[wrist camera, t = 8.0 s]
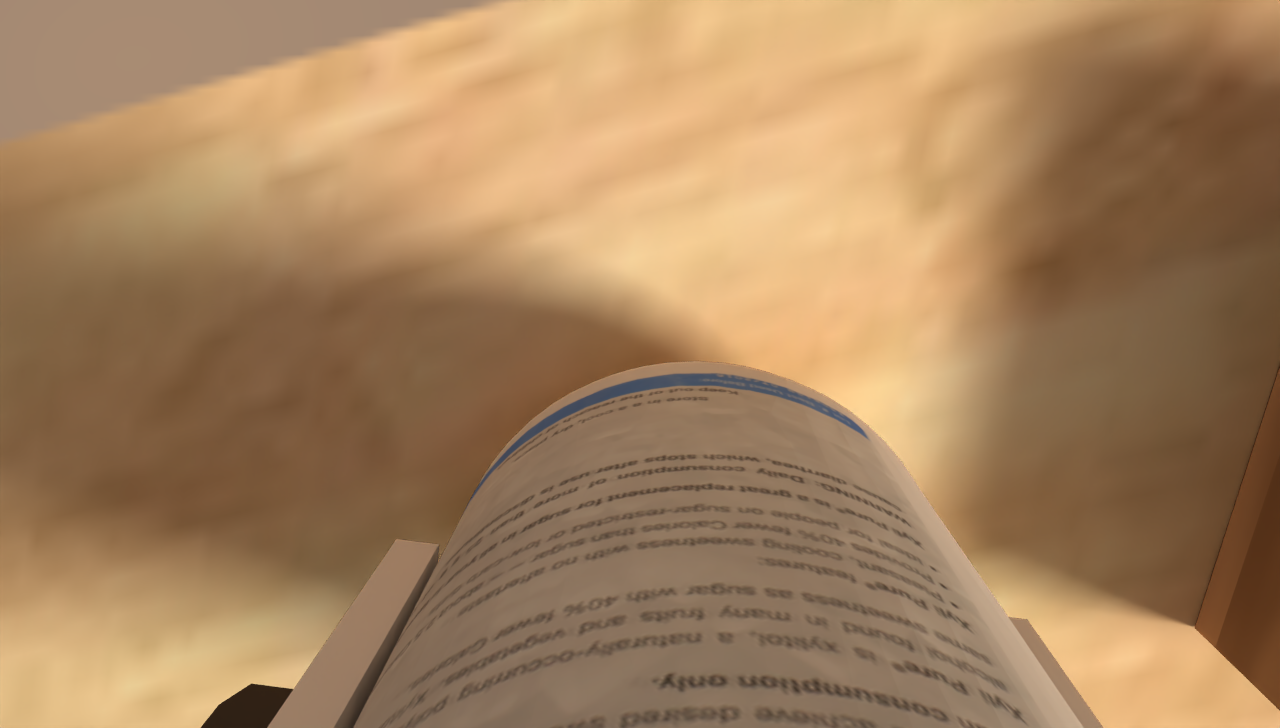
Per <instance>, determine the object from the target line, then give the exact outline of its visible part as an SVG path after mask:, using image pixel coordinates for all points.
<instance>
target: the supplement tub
mask: <svg viewBox="0 0 1280 728" xmlns="http://www.w3.org/2000/svg"><path fill="white" fill-rule="evenodd" d="M353 728H1084V727H1083V726H1082V725H1081V723H1080V722H1079V720H1078V719H1077V717H1076V716H1075V714H1074V713H1073V711H1072V710H1071V708H1070V707H1069V706H1068V704H1067V703H1066V701H1065V700H1064V698H1063V697H1062V695H1061V694H1060V692H1059V691H1058V690H1057V688H1056V687H1055V685H1054V684H1053V682H1052V681H1051V679H1050V678H1049V676H1048V675H1047V673H1046V672H1045V670H1044V669H1043V667H1042V666H1041V664H1040V663H1039V662H1038V660H1037V659H1036V657H1035V656H1034V654H1033V653H1032V651H1031V650H1030V648H1029V647H1028V645H1027V644H1026V642H1025V641H1024V639H1023V638H1022V636H1021V635H1020V634H1019V632H1018V631H1017V629H1016V628H1015V626H1014V625H1013V623H1012V622H1011V620H1010V619H1009V617H1008V616H1007V614H1006V613H1005V611H1004V610H1003V608H1002V607H1001V606H1000V604H999V603H998V601H997V600H996V598H995V597H994V595H993V594H992V592H991V591H990V589H989V588H988V587H987V585H986V584H985V582H984V581H983V579H982V578H981V577H980V575H979V574H978V572H977V571H976V569H975V568H974V566H973V565H972V564H971V562H970V561H969V559H968V558H967V556H966V555H965V554H964V552H963V551H962V549H961V548H960V546H959V545H958V543H957V542H956V541H955V539H954V538H953V536H952V535H951V533H950V532H949V530H948V529H947V527H946V526H945V525H944V523H943V522H942V520H941V519H940V517H939V516H938V514H937V513H936V512H935V510H934V509H933V507H932V506H931V504H930V503H929V501H928V500H927V498H926V497H925V495H924V494H923V492H922V491H921V490H920V488H919V487H918V485H917V484H916V482H915V481H914V479H913V477H912V476H911V474H910V473H909V471H908V470H907V469H906V467H905V466H904V464H903V463H902V461H901V460H900V459H899V458H898V456H897V455H896V454H895V453H894V452H893V451H892V449H891V448H890V447H889V446H888V445H887V443H886V442H885V441H884V440H883V439H882V438H880V437H879V436H878V435H877V434H876V433H875V432H874V431H873V430H872V429H871V428H870V427H869V426H868V425H867V424H865V423H864V422H863V421H862V420H860V419H859V418H858V417H857V416H856V415H854V414H853V413H852V412H851V411H849V410H848V409H846V408H844V407H843V406H841V405H840V404H838V403H837V402H835V401H834V400H832V399H830V398H829V397H827V396H825V395H823V394H821V393H819V392H817V391H815V390H813V389H811V388H809V387H806V386H804V385H802V384H799V383H797V382H794V381H792V380H789V379H787V378H784V377H781V376H778V375H775V374H772V373H769V372H766V371H762V370H758V369H754V368H750V367H746V366H740V365H734V364H728V363H719V362H704V361H688V362H669V363H661V364H655V365H648V366H642V367H638V368H634V369H630V370H626V371H623V372H619V373H616V374H613V375H610V376H607V377H605V378H602V379H599V380H597V381H594V382H592V383H590V384H588V385H586V386H584V387H581V388H579V389H577V390H575V391H573V392H571V393H569V394H568V395H566V396H564V397H563V398H561V399H559V400H558V401H556V402H554V403H553V404H551V405H550V406H549V407H547V408H546V409H545V410H543V411H542V412H541V413H539V414H538V415H537V416H536V417H534V418H533V419H532V420H530V421H529V422H528V423H527V424H526V425H525V426H524V427H523V428H522V429H521V430H520V431H519V432H518V433H517V434H516V435H515V436H514V437H513V438H512V439H511V440H510V441H509V442H508V443H507V444H506V446H505V447H504V448H503V449H502V451H501V452H500V453H499V454H498V456H497V457H496V458H495V459H494V461H493V462H492V463H491V465H490V467H489V468H488V470H487V471H486V473H485V474H484V476H483V477H482V479H481V481H480V483H479V485H478V487H477V489H476V490H475V492H474V494H473V495H472V497H471V499H470V501H469V503H468V505H467V507H466V509H465V511H464V513H463V515H462V517H461V519H460V521H459V522H458V524H457V526H456V528H455V530H454V532H453V534H452V536H451V538H450V540H449V542H448V544H447V546H446V548H445V550H444V552H443V554H442V556H441V558H440V560H439V562H438V564H437V565H436V567H435V569H434V571H433V573H432V575H431V577H430V579H429V581H428V582H427V584H426V586H425V588H424V590H423V592H422V594H421V596H420V598H419V600H418V602H417V604H416V606H415V608H414V610H413V612H412V614H411V616H410V618H409V620H408V622H407V624H406V626H405V627H404V629H403V631H402V633H401V635H400V637H399V639H398V641H397V643H396V645H395V647H394V649H393V651H392V653H391V655H390V657H389V659H388V661H387V663H386V665H385V667H384V669H383V671H382V672H381V674H380V676H379V678H378V680H377V682H376V684H375V686H374V688H373V690H372V692H371V694H370V696H369V698H368V700H367V702H366V704H365V706H364V708H363V710H362V712H361V714H360V716H359V718H358V719H357V721H356V723H355V725H354V727H353Z"/></svg>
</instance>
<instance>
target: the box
mask: <svg viewBox="0 0 1280 728" xmlns="http://www.w3.org/2000/svg"><path fill="white" fill-rule="evenodd" d="M1195 629H1196V630H1197V631H1198V632H1199V633H1200V634H1201V635H1203V636H1204V637H1205V638H1206V639H1207V640H1208V641H1209V642H1210V643H1211V644H1212V645H1213V646H1214V647H1215V648H1216V649H1217V650H1218V651H1219V652H1220V653H1221V654H1222V655H1223V656H1224V657H1225V658H1226V659H1227V660H1228V661H1229V662H1230V663H1231V664H1232V665H1233V666H1235V667H1236V668H1237V669H1238V670H1239V671H1240V672H1241V673H1242V674H1243V675H1244V676H1245V677H1246V678H1247V679H1248V680H1249V681H1250V682H1251V683H1252V684H1253V685H1254V686H1255V687H1256V688H1257V689H1258V690H1259V691H1260V692H1261V693H1262V694H1263V695H1264V696H1265V697H1266V698H1268V699H1269V700H1270V701H1271V702H1272V703H1273V704H1274V705H1275V706H1276V707H1277V708H1278V709H1279V710H1280V368H1279V371H1278V374H1277V377H1276V380H1275V383H1274V386H1273V389H1272V392H1271V395H1270V399H1269V402H1268V405H1267V408H1266V411H1265V414H1264V417H1263V420H1262V423H1261V426H1260V429H1259V432H1258V435H1257V438H1256V442H1255V445H1254V448H1253V451H1252V454H1251V457H1250V460H1249V463H1248V466H1247V469H1246V472H1245V475H1244V478H1243V481H1242V485H1241V488H1240V491H1239V494H1238V497H1237V500H1236V503H1235V506H1234V509H1233V512H1232V515H1231V518H1230V521H1229V524H1228V528H1227V531H1226V534H1225V537H1224V540H1223V543H1222V546H1221V549H1220V552H1219V555H1218V558H1217V561H1216V564H1215V567H1214V571H1213V574H1212V577H1211V580H1210V583H1209V586H1208V589H1207V592H1206V595H1205V598H1204V601H1203V604H1202V607H1201V610H1200V613H1199V617H1198V620H1197V623H1196V626H1195Z"/></svg>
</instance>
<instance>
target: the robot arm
mask: <svg viewBox="0 0 1280 728" xmlns="http://www.w3.org/2000/svg"><path fill="white" fill-rule="evenodd" d="M438 552H439V544H433V543H425V542H417V541H409V540H401V539H396V540H395V542H394V543H393V545H392V546H391V548H390V549H389V551H388V552H387V553H386V555H385V556H384V558H383V559H382V561H381V562H380V564H379V565H378V567H377V568H376V570H375V571H374V572H373V574H372V575H371V577H370V578H369V580H368V581H367V583H366V584H365V586H364V587H363V589H362V590H361V591H360V593H359V594H358V596H357V597H356V599H355V600H354V602H353V603H352V605H351V606H350V607H349V609H348V610H347V612H346V613H345V615H344V616H343V618H342V619H341V621H340V622H339V624H338V625H337V626H336V628H335V629H334V631H333V632H332V634H331V635H330V637H329V638H328V640H327V641H326V643H325V644H324V645H323V647H322V648H321V650H320V651H319V653H318V654H317V656H316V657H315V659H314V660H313V662H312V663H311V664H310V666H309V667H308V669H307V670H306V672H305V673H304V675H303V676H302V678H301V679H300V681H299V682H298V683H297V685H296V686H295V688H294V689H288V688H280V687H272V686H265V685H257V684H250V685H249V686H247V687H246V688H244V689H242V690H241V691H239V692H238V693H236V694H235V695H233V696H232V697H230V698H229V699H227V700H226V701H224V702H222V703H221V704H219V705H218V707H217V708H216V709H215V710H214V712H213V713H212V714H211V715H210V717H209V718H208V719H207V720H206V722H205V723H204V724H203V725H202V727H201V728H353V727H354V725H355V723H356V721H357V719H358V718H359V716H360V714H361V712H362V710H363V708H364V706H365V704H366V702H367V700H368V698H369V696H370V694H371V692H372V690H373V688H374V686H375V684H376V682H377V680H378V678H379V676H380V674H381V672H382V671H383V669H384V667H385V665H386V663H387V661H388V659H389V657H390V655H391V653H392V651H393V649H394V647H395V645H396V643H397V641H398V639H399V637H400V635H401V633H402V631H403V629H404V627H405V626H406V624H407V622H408V620H409V618H410V616H411V614H412V612H413V610H414V608H415V606H416V604H417V602H418V600H419V598H420V596H421V594H422V592H423V590H424V588H425V586H426V584H427V582H428V581H429V579H430V577H431V575H432V573H433V571H434V569H435V567H436V565H437V564H438ZM1009 619H1010V620H1011V622H1012V623H1013V625H1014V626H1015V628H1016V629H1017V631H1018V632H1019V634H1020V635H1021V636H1022V638H1023V639H1024V641H1025V642H1026V644H1027V645H1028V647H1029V648H1030V650H1031V651H1032V653H1033V654H1034V656H1035V657H1036V659H1037V660H1038V662H1039V663H1040V664H1041V666H1042V667H1043V669H1044V670H1045V672H1046V673H1047V675H1048V676H1049V678H1050V679H1051V681H1052V682H1053V684H1054V685H1055V687H1056V688H1057V690H1058V691H1059V692H1060V694H1061V695H1062V697H1063V698H1064V700H1065V701H1066V703H1067V704H1068V706H1069V707H1070V708H1071V710H1072V711H1073V713H1074V714H1075V716H1076V717H1077V719H1078V720H1079V722H1080V723H1081V725H1082V726H1083V727H1084V728H1103V727H1102V725H1101V724H1100V722H1099V721H1098V719H1097V718H1096V717H1095V715H1094V714H1093V712H1092V711H1091V709H1090V708H1089V707H1088V705H1087V704H1086V702H1085V701H1084V700H1083V698H1082V697H1081V695H1080V694H1079V692H1078V691H1077V690H1076V688H1075V687H1074V685H1073V684H1072V682H1071V681H1070V680H1069V678H1068V677H1067V675H1066V674H1065V672H1064V671H1063V670H1062V668H1061V667H1060V665H1059V664H1058V662H1057V661H1056V660H1055V658H1054V657H1053V655H1052V654H1051V652H1050V651H1049V650H1048V648H1047V647H1046V645H1045V644H1044V643H1043V641H1042V640H1041V638H1040V637H1039V635H1038V634H1037V633H1036V631H1035V630H1034V628H1033V627H1032V625H1031V624H1030V623H1029V621H1028V620H1027V619H1019V618H1012V617H1009Z"/></svg>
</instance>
